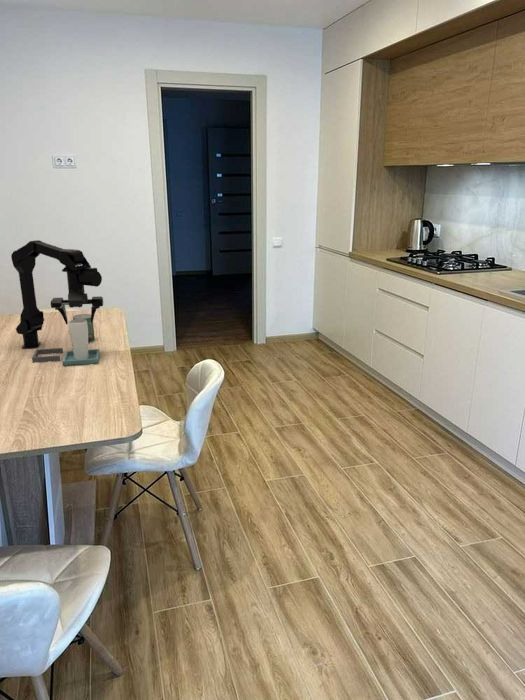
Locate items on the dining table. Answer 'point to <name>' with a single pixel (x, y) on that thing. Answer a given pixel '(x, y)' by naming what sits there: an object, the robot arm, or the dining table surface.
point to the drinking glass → (79, 338)
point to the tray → (92, 359)
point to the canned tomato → (90, 325)
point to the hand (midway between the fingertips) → (79, 323)
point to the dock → (46, 358)
